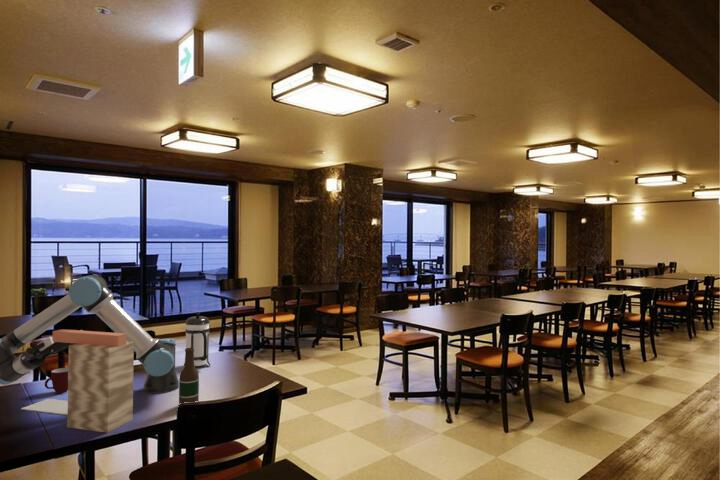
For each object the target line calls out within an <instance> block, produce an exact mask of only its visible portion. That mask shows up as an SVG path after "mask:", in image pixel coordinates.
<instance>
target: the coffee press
mask: <svg viewBox="0 0 720 480" xmlns="http://www.w3.org/2000/svg"><path fill="white" fill-rule="evenodd" d="M210 323H211V322H210V320H209V318H208V317H207V316H202V315H201V313H200V312H195V316H191V317H188V318H187V319H186V321H185V349H187V348H194V366H195V367H200V366H206V367H207V368H209V367H211V364H210V362H209V352H210V351H209V350H210V348H209V346H210V345H209V342H210ZM184 365H185V362H184V363H183V366H184Z"/></svg>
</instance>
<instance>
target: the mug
mask: <svg viewBox="0 0 720 480" xmlns="http://www.w3.org/2000/svg"><path fill="white" fill-rule="evenodd" d="M50 374H51V375H50V377H48V378H47V379H45V380H44V381H45V382H44V387H45V388H46V389H48V390H54V391H55V393H56V394H65V393H68V367H61V368H56V369H52V370H51V373H50ZM49 381H51V385H52V386H48V383H49Z"/></svg>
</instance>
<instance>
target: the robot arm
mask: <svg viewBox="0 0 720 480" xmlns="http://www.w3.org/2000/svg"><path fill="white" fill-rule="evenodd" d="M68 290H69V291H68V294H67V295H65V296H64V297H62V298H60V299H59V300H57V301H56V302H54V303H52V304H51V305H50V306H49V307H47V308H45V309H43V310H42V311H41V312H40V313H38V314H36V315H34V316H33V317H32V318H30V319H29V320H27V321H26V322H25V323H23V324H21V325H20V326H18V327H17V328H15V329H14V330H13V331H11V332H9V333H8V334H6V335H5V336H3V337H1V338H0V385H4V386H5V385H10V384H12V383H14V382H16V381H18V380H19V379H21V378H23V377H24V376H26V375H28V374H30V373H31V372H32V371H33V370H34V369H37V368H38V367H40V366H41V365H43V364H44V363H45V361H46V358H47V357H49V356H51V355H56V354H57V353H59V352H61V351H63V350H65V349H68V348H69V346H70V345H74V344H77V343H65V342H56V343H55V342H53V336H47V338H45V339H44V340H42V341H41V342H38V344H36V345H33V346H32V347H31V346H29V347H26V349H25V351H24V352H23V353H21V354H19V355H18V356H16V355H15V354H14V353H15V352H17V351H19V350H20V349H21V348H22V347H24V346H26V344H28V343H30V342H31V341H33V340H34V339H35V338H37V337H39V336H40V335H42V334H43V333H45V332H46V331H47V330H49V329H50V328H52V327H54V326H55V325H57V324H58V323H59V322H61V321H62V320H64V319H65V318H67V317H68V316H69V315H71V314H72V313H74V312H75V311H77V310H79V308H83V309H84V310H85V311H86V312H87V313H89V314H95V315H96V316H97V317H99V319H100V320H101V321H102V322H104V323H105V324H106V326H108V327H109V328H110V329H111V330H112V331H113V333H124V334H126V341H127V342H134V353H136V354H135V355H136V357H135V359H136V360H137V361H138V362H140V364H141V365H142V366H143V368H144V370H145V372H146V373H147V375H146V378H145V381H144V384H143V392H145V393H148V394H149V393H150V394H162V393H166V392H168V393H169V392H171V391H175V390H177V389H179V378H178V375H177V372H176V345H177V344H176V340H175V338H153V337H152V336H151V335H150V334H149V333H148V332H147V331H146V330H145V329H144V328H143V327H142V325H140V324H139V323H138V322H137V321H136V320H135V319H134V318H133V317H132V316H131V315H129V313H127V311H126V310H124V308H123V307H121V306H120V304H118V302H117V301H116V300H114V293H113V292H112V291H111V290H110V289H109V288H108V284H107V281H106V279H104V278H103V277H101V276H100V275H96V274H90V275H85V276H81V277H80V276H79V278H77V279H76V280H74V281H73V282H72V284H71V285H70V287H69V289H68ZM80 331H84V330H83V329H80Z"/></svg>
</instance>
